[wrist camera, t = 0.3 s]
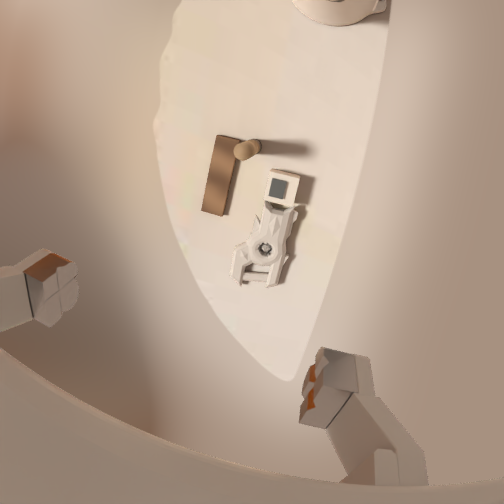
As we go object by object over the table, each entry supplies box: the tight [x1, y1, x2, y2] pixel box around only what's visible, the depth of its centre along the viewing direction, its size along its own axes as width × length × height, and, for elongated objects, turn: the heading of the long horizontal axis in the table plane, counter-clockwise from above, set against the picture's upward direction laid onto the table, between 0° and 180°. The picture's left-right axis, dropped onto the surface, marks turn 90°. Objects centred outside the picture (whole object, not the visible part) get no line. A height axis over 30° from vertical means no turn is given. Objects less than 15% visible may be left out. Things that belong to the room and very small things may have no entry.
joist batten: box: [201, 135, 240, 216], centre depth 54 cm, size 14×4×1 cm, turn 167°
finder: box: [263, 169, 300, 207], centre depth 52 cm, size 5×5×3 cm
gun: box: [230, 200, 298, 288], centre depth 57 cm, size 18×3×10 cm
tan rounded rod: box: [234, 139, 262, 161], centre depth 47 cm, size 3×3×9 cm
